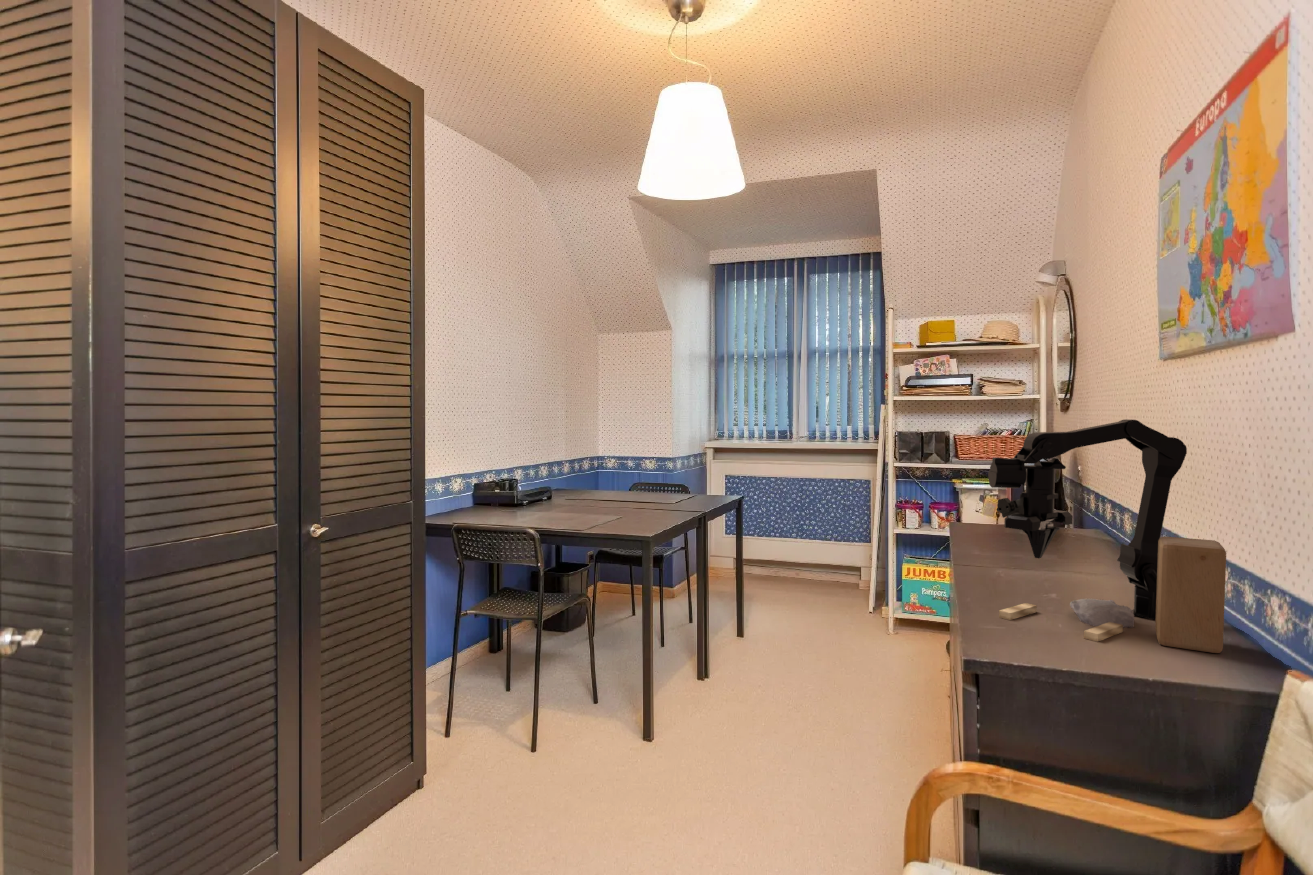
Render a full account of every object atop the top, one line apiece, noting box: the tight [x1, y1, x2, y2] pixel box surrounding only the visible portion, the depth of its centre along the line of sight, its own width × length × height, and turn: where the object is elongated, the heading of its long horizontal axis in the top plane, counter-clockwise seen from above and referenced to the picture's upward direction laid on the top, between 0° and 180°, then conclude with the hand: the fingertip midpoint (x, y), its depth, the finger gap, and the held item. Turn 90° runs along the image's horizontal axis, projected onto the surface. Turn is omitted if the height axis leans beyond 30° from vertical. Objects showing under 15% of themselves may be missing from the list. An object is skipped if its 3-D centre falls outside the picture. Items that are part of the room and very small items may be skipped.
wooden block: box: [1154, 535, 1227, 654], centre depth 140 cm, size 10×10×20 cm
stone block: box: [1069, 598, 1135, 628], centre depth 157 cm, size 12×5×10 cm
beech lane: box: [998, 602, 1124, 643], centre depth 153 cm, size 11×20×2 cm, turn 35°
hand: (1037, 557), depth 163 cm, fingers closed
